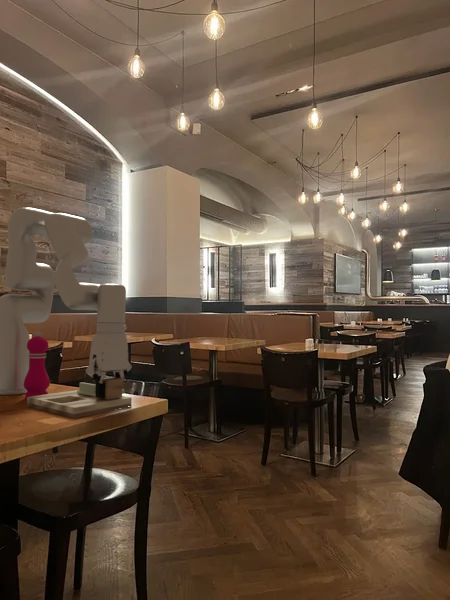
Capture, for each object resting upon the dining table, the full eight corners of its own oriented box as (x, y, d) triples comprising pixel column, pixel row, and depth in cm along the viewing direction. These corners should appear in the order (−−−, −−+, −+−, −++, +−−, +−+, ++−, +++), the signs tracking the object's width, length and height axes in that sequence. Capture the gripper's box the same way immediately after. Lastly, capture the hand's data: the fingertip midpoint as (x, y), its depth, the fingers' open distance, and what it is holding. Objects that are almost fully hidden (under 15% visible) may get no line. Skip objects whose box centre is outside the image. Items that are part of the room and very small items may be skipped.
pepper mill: (40, 401, 132) (41, 332, 133) (17, 399, 133) (19, 331, 134) (54, 396, 139) (55, 331, 140) (33, 395, 141) (34, 330, 141)
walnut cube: (95, 397, 123) (96, 378, 123) (110, 394, 127) (110, 376, 127) (107, 399, 120) (107, 380, 120) (122, 397, 124) (122, 378, 124)
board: (26, 406, 124) (27, 397, 125) (83, 397, 139) (83, 389, 139) (74, 418, 111) (74, 407, 111) (131, 406, 125) (131, 397, 125)
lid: (77, 394, 130) (77, 382, 130) (104, 390, 137) (104, 378, 137) (96, 397, 124) (97, 385, 124) (124, 393, 132) (124, 381, 132)
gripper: (126, 328, 133) (124, 390, 133) (75, 329, 120) (73, 398, 119) (143, 329, 129) (141, 394, 128) (93, 330, 115) (91, 402, 115)
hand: (108, 395), depth 124 cm, fingers closed on walnut cube, 5 cm apart
